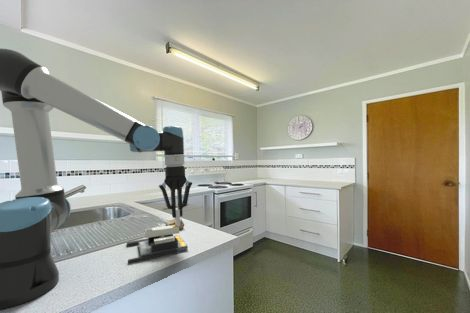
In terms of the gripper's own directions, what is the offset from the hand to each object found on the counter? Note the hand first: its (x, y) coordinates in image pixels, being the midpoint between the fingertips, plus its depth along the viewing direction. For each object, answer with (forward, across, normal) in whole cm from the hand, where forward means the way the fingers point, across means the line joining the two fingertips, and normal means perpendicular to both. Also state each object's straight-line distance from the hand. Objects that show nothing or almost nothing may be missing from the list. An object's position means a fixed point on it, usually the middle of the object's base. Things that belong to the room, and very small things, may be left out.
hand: (177, 225), depth 85 cm
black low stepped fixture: (+7, -9, +2) cm, 12 cm away
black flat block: (+8, -6, 0) cm, 10 cm away
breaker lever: (+2, -6, 0) cm, 6 cm away
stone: (+9, +3, +23) cm, 24 cm away
